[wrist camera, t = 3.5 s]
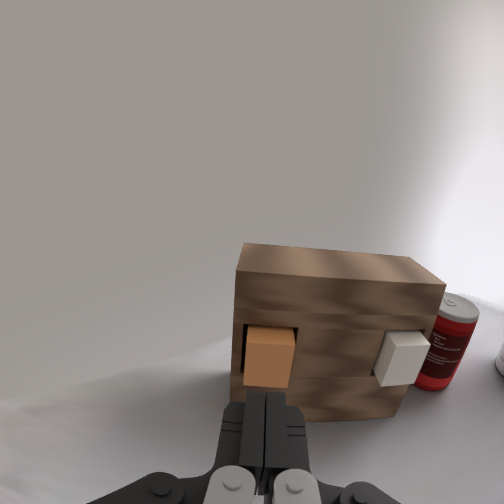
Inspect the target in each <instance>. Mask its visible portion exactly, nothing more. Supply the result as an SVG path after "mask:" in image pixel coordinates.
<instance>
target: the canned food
mask: <svg viewBox="0 0 504 504" xmlns="http://www.w3.org/2000/svg"><path fill="white" fill-rule="evenodd" d="M478 316H479V310H478V308H477V307H476V306H475V305H474V304H473V303H472V302H470V301H469V300H467V299H465V298H463V297H461V296H458V295H455V294H452V293H447V292H444V295H443V298H442V302H441V305H440V308H439V311H438V314H437V317H436V320H435V323H434V326H433V329H432V332H431V335H430V337H429V340H428V342H429V343H430V344H431V345H430V347H429V350H428V352H427V355H426V357H425V360H424V362H423V364H422V367H421V369H420V371H419V373H418V376H417V378H416V380H415V382H414V385H415V386H417V387H419V388H421V389H424V390H428V391H438V390H441V389H443V388H445V387H446V386H447V385H448V384H449V383H450V381H451V380H452V378H453V376H454V374H455V372H456V370H457V368H458V366H459V364H460V361H461V359H462V357H463V355H464V353H465V350H466V348H467V346H468V343H469V341H470V339H471V336H472V334H473V331H474V329H475V326H476V323H477V320H478Z"/></svg>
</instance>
